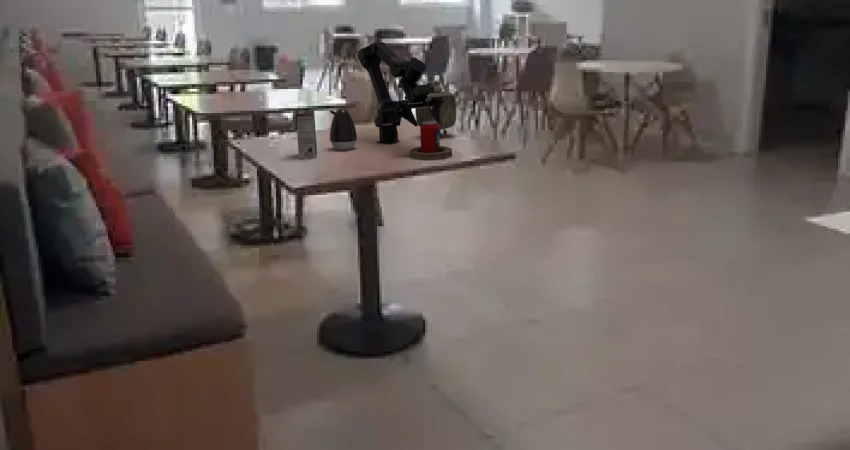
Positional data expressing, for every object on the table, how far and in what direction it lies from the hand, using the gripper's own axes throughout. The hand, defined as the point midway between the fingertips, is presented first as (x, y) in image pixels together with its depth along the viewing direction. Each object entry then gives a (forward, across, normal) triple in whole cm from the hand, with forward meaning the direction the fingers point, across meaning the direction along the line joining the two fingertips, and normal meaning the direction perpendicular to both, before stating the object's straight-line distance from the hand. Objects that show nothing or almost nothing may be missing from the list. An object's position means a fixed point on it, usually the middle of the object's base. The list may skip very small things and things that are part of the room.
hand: (427, 124), depth 291 cm
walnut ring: (+9, 0, +7) cm, 11 cm away
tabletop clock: (-11, +20, +27) cm, 36 cm away
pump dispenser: (-12, -20, +28) cm, 37 cm away
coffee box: (-10, -36, +26) cm, 45 cm away
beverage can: (+9, 0, +7) cm, 11 cm away
